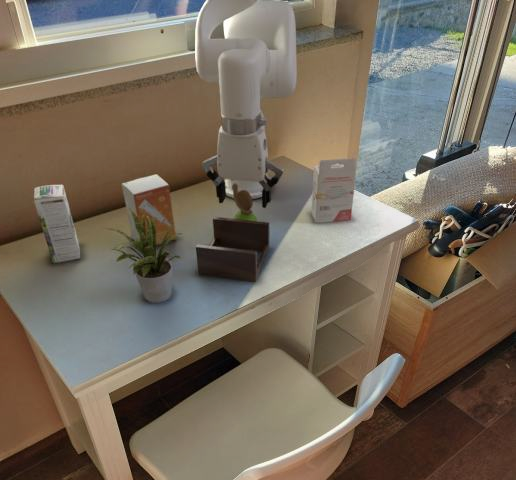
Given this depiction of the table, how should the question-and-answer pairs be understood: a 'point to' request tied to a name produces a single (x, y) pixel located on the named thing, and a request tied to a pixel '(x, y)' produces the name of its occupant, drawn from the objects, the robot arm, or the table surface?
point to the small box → (150, 205)
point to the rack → (234, 260)
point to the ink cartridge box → (333, 190)
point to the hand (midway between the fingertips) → (243, 202)
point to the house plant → (150, 261)
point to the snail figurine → (243, 204)
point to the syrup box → (57, 222)
